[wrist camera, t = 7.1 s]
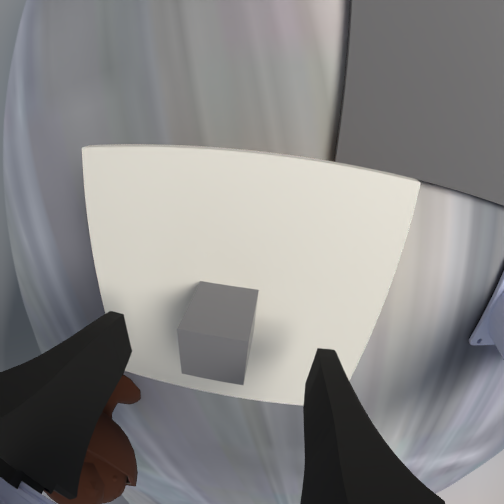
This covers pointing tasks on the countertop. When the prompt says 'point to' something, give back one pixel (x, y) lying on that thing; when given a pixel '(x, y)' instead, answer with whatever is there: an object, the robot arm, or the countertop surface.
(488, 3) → the mat
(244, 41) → the countertop surface
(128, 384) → the ice cream bowl
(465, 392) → the countertop surface
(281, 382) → the cover sheet
